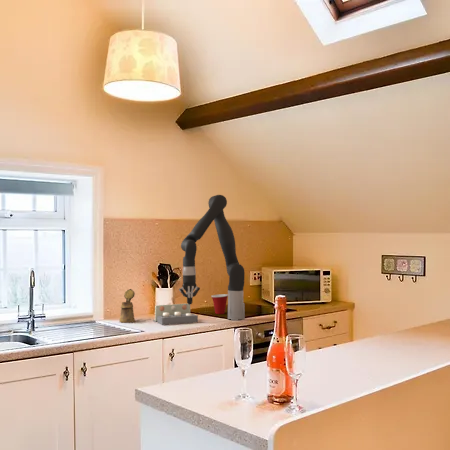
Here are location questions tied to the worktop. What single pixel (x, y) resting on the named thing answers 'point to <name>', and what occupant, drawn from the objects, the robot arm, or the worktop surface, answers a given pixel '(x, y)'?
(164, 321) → the button board
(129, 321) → the brown tapered piece
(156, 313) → the pattern card
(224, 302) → the plastic cup
